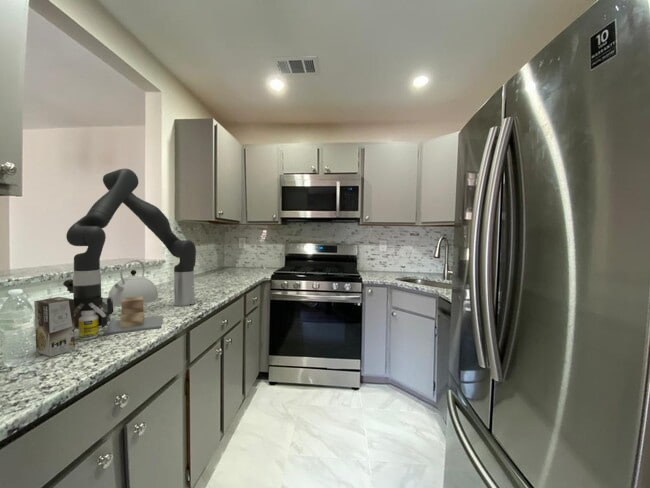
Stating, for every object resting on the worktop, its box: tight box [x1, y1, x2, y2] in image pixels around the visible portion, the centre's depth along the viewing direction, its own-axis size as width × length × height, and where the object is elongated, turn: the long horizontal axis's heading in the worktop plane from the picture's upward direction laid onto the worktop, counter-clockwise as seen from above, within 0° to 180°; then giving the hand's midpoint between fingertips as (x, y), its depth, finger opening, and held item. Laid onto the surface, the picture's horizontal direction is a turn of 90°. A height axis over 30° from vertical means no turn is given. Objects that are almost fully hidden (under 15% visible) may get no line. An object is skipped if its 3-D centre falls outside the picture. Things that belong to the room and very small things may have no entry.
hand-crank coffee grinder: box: [62, 278, 111, 329], centre depth 115 cm, size 16×11×18 cm
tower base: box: [119, 311, 145, 328], centre depth 113 cm, size 7×7×5 cm
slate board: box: [102, 315, 164, 336], centre depth 114 cm, size 18×16×1 cm
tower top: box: [121, 296, 145, 315], centre depth 113 cm, size 7×7×5 cm
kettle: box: [107, 259, 159, 308], centre depth 153 cm, size 25×23×22 cm
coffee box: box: [33, 296, 76, 357], centre depth 89 cm, size 9×6×16 cm
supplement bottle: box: [78, 310, 100, 341], centre depth 100 cm, size 5×5×10 cm
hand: (88, 328), depth 100 cm, fingers open, 8 cm apart
